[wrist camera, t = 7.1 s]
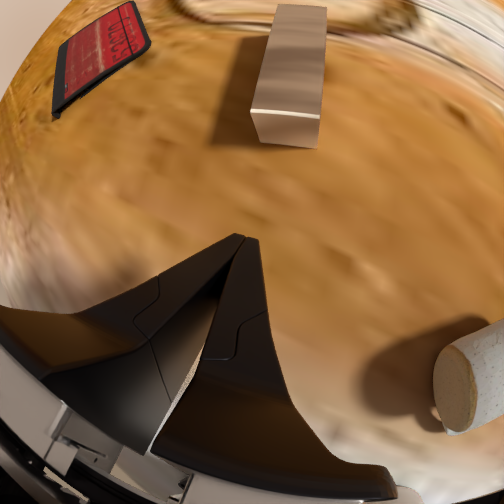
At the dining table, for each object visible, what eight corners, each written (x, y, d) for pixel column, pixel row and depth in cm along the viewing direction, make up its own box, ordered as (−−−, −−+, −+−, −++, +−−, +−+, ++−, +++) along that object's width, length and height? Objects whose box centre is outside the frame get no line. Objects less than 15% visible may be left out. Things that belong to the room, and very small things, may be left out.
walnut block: (319, 119, 15) (326, 7, 16) (250, 112, 16) (278, 4, 17) (316, 149, 20) (326, 38, 21) (260, 142, 21) (282, 34, 21)
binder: (49, 114, 24) (57, 46, 28) (59, 121, 27) (63, 53, 30) (151, 41, 23) (132, -4, 26) (158, 53, 25) (137, 4, 29)
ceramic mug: (425, 336, 17) (478, 364, 10) (497, 307, 16) (554, 316, 8) (423, 440, 16) (454, 488, 8) (491, 407, 15) (531, 438, 7)
